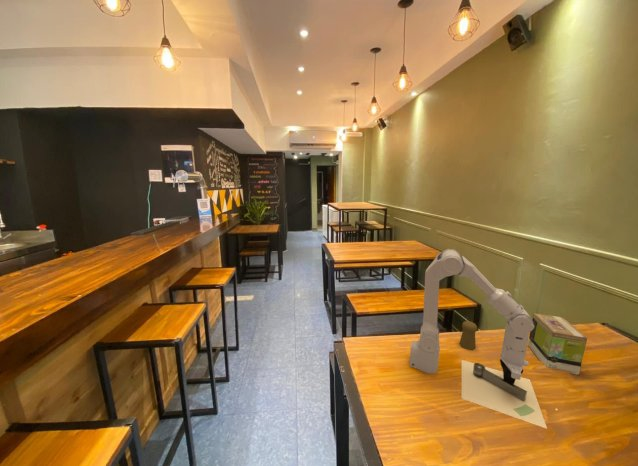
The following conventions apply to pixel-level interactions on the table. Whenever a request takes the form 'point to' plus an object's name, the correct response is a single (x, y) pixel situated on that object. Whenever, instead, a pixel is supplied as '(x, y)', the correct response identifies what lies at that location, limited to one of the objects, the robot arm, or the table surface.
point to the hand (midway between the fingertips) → (508, 384)
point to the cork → (468, 335)
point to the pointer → (499, 381)
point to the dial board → (501, 396)
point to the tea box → (557, 343)
